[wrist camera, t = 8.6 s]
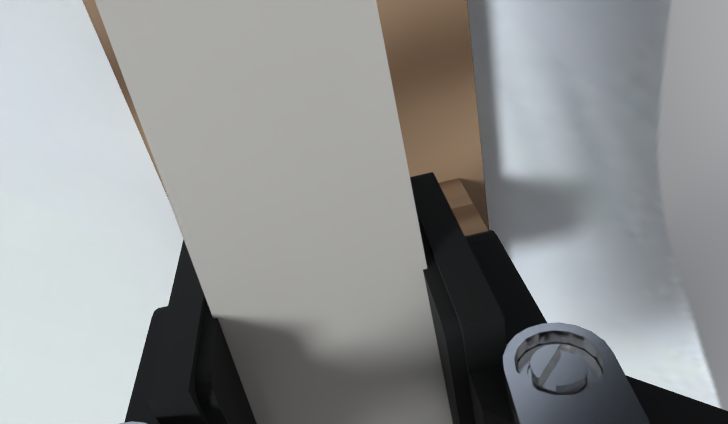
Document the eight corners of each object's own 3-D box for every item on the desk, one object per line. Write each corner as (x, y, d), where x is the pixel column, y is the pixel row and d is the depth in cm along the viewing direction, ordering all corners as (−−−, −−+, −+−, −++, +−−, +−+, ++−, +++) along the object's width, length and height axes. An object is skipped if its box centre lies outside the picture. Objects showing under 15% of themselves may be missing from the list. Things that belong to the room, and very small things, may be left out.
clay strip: (68, -328, 8) (-109, -546, 5) (275, -375, 9) (256, -628, 5) (361, 584, 16) (379, 764, 13) (467, 559, 17) (515, 731, 13)
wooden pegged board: (-32, -297, 16) (-146, -348, 11) (419, -398, 16) (473, -488, 11) (229, 321, 27) (222, 409, 23) (486, 261, 27) (525, 337, 23)
